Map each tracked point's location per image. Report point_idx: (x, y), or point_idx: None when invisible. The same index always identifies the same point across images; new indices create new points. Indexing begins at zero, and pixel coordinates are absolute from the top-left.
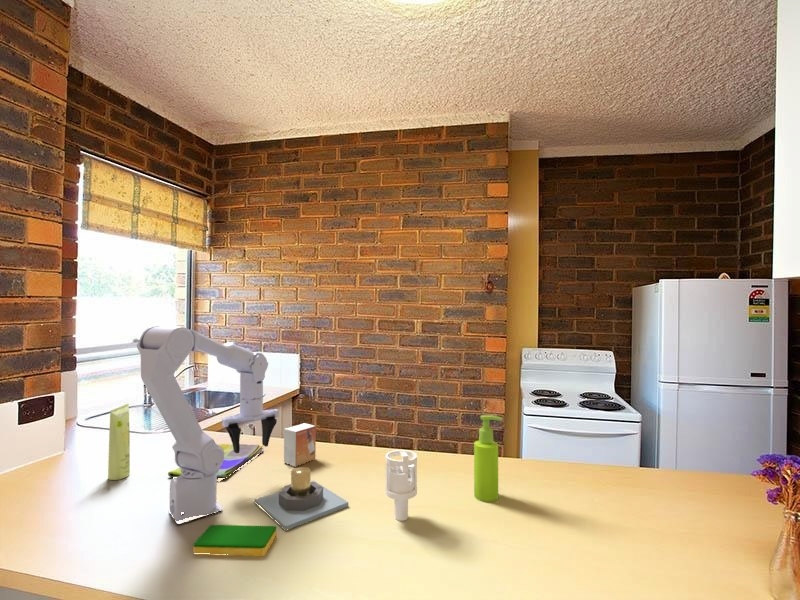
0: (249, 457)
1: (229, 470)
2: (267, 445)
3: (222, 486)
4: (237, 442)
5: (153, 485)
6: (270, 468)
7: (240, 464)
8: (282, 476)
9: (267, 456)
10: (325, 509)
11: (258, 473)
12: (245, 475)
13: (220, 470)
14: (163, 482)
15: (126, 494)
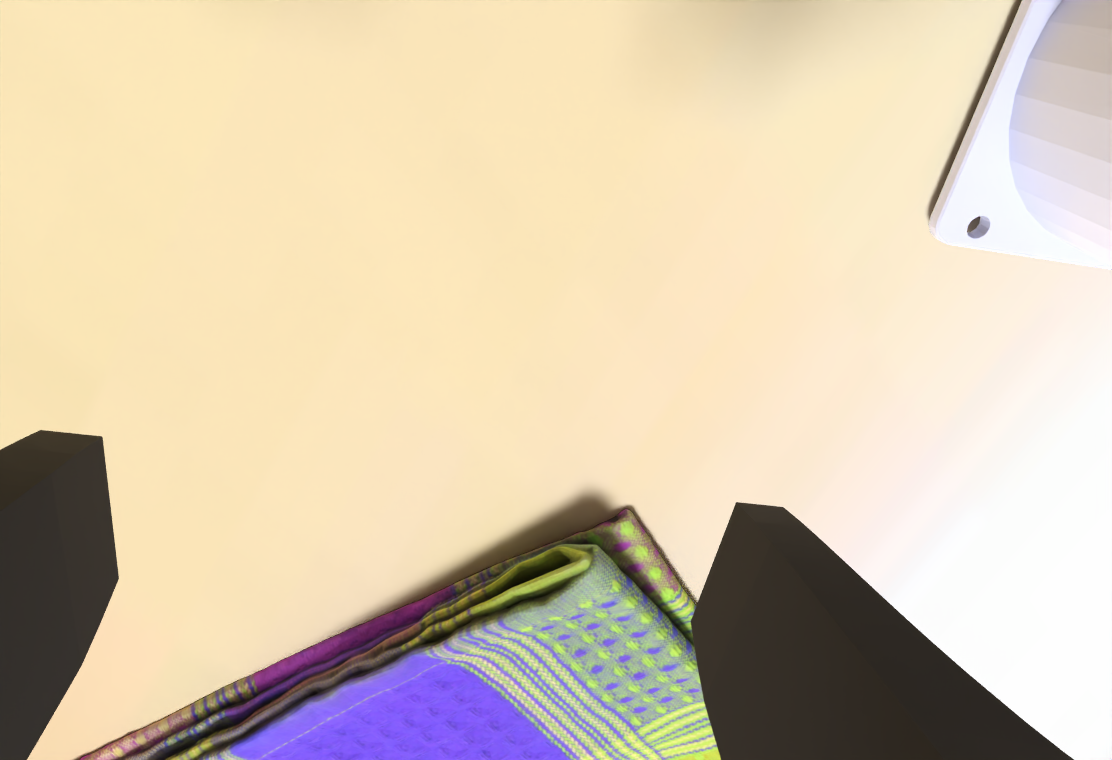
0: (195, 748)
1: (504, 608)
2: (34, 439)
3: (671, 423)
4: (927, 682)
5: None
6: None
7: (335, 675)
8: (38, 163)
9: None
10: None
11: (256, 442)
12: (385, 487)
13: (526, 677)
14: None
15: (1098, 728)
